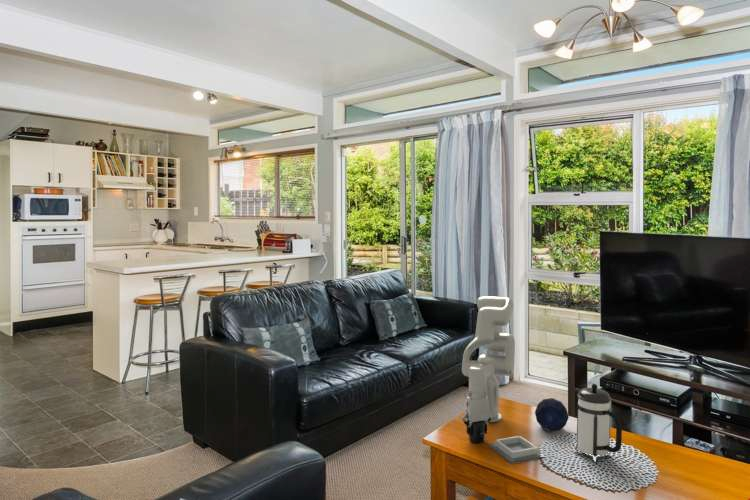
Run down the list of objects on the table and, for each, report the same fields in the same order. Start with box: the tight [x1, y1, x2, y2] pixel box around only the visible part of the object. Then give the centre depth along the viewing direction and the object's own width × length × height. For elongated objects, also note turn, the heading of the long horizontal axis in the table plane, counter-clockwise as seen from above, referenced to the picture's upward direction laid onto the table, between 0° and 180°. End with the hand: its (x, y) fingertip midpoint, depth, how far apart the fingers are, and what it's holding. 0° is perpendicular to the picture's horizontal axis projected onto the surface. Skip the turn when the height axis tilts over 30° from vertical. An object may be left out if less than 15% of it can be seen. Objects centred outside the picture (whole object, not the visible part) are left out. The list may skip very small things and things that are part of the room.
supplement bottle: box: [468, 421, 486, 444], centre depth 221 cm, size 7×7×12 cm
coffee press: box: [575, 383, 623, 456], centre depth 206 cm, size 17×16×30 cm
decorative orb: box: [534, 397, 570, 432], centre depth 233 cm, size 14×15×15 cm
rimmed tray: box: [488, 435, 541, 465], centre depth 210 cm, size 16×16×4 cm
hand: (476, 433), depth 221 cm, fingers closed on supplement bottle, 6 cm apart
